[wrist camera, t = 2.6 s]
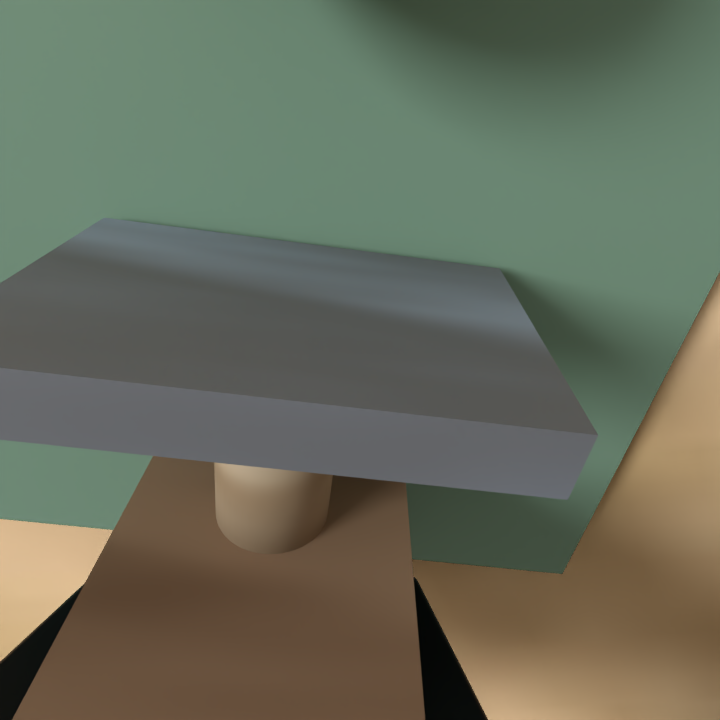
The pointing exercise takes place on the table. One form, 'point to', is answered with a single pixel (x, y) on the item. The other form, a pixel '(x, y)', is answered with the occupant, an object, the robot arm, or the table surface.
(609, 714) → the table surface
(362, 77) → the pitch
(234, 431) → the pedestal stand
